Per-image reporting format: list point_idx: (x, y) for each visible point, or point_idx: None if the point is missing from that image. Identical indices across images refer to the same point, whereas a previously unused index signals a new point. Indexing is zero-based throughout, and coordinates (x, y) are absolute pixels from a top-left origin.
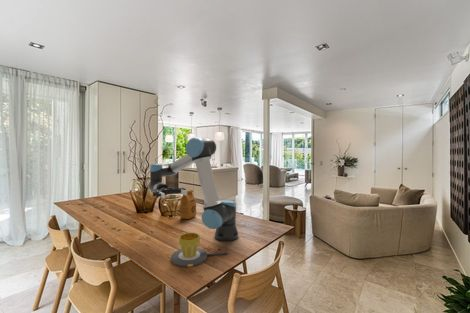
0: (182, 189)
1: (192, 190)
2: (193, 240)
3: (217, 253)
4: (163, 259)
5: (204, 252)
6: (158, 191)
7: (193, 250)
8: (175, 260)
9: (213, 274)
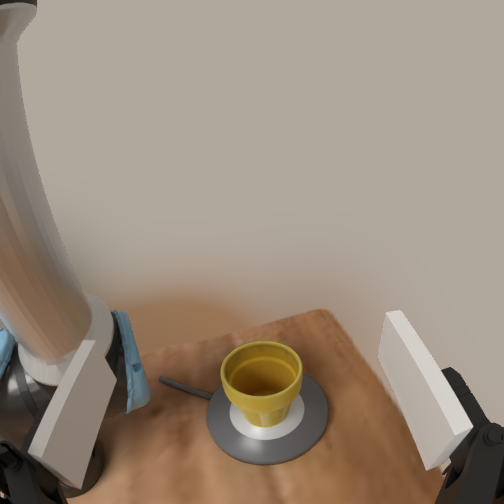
0: (38, 435)
1: None
2: (262, 342)
3: (186, 385)
4: (350, 437)
5: (216, 401)
6: (483, 486)
7: (261, 375)
8: (320, 396)
9: (254, 332)
